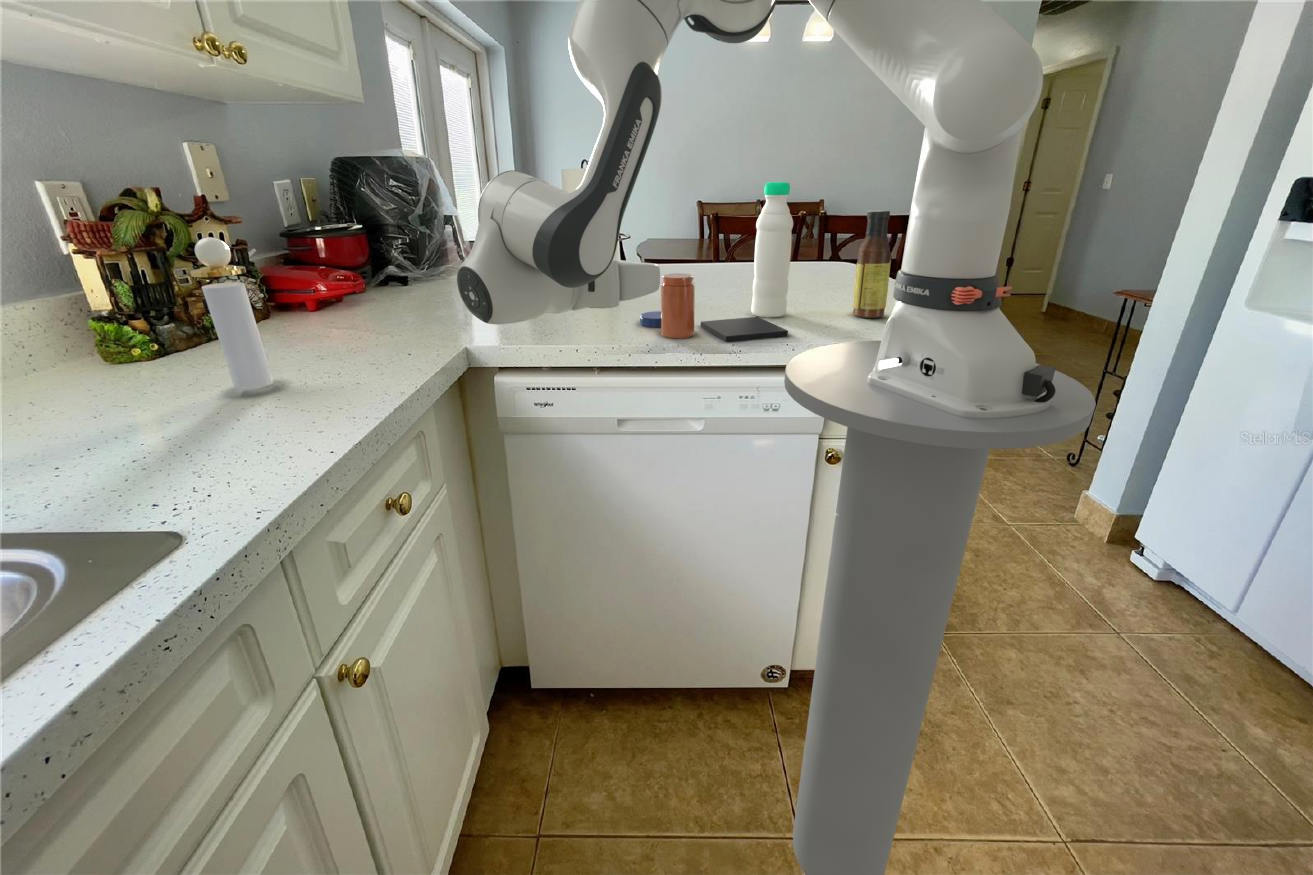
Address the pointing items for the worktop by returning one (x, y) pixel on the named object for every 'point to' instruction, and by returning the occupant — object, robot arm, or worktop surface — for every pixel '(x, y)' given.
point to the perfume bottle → (232, 317)
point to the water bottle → (772, 252)
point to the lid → (651, 319)
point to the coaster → (743, 329)
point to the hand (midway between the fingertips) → (631, 267)
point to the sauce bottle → (873, 268)
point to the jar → (677, 305)
